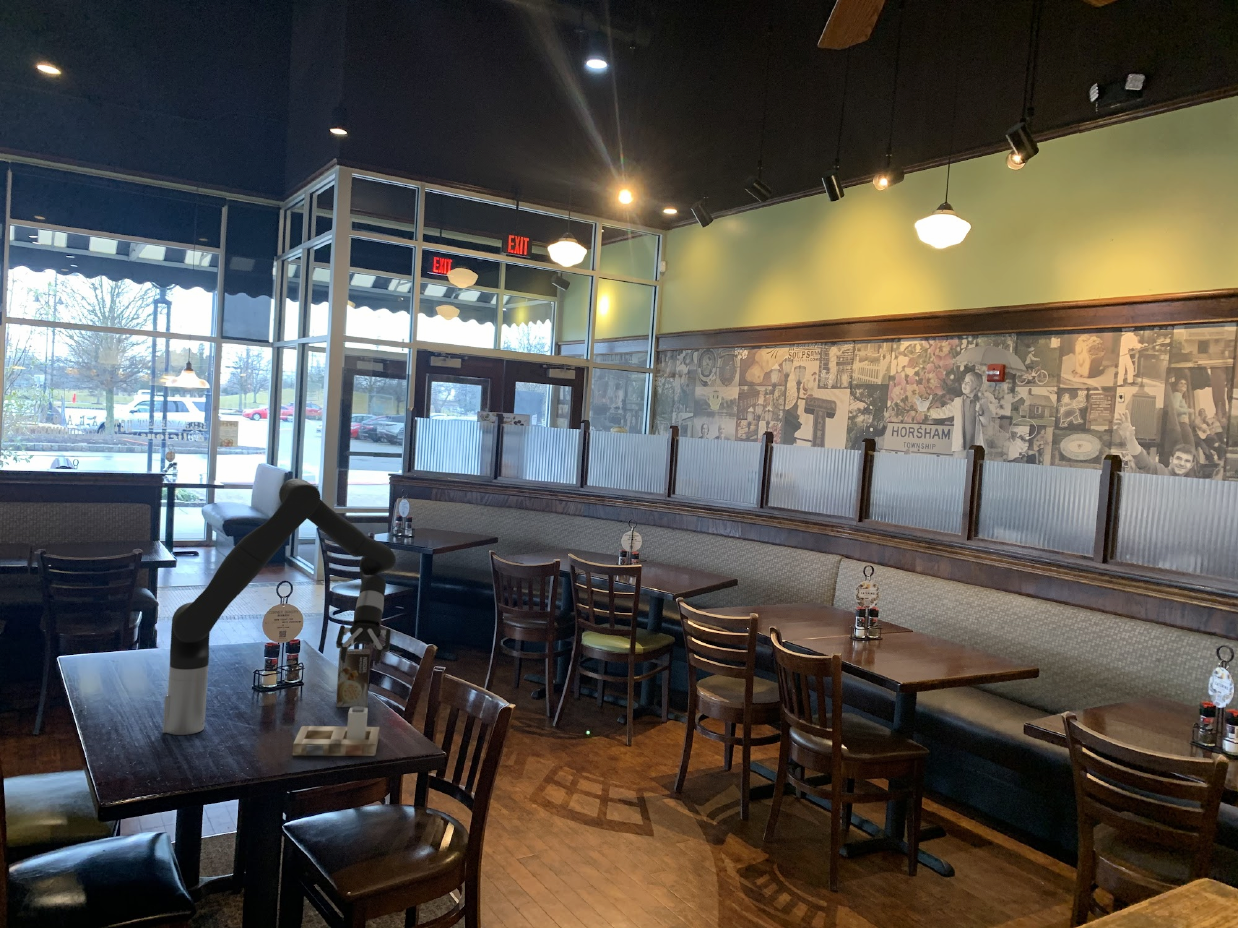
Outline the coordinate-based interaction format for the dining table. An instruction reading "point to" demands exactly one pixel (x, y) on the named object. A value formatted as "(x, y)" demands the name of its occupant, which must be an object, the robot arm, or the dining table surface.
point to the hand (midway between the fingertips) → (359, 663)
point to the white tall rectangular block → (357, 723)
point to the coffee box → (353, 678)
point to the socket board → (334, 742)
